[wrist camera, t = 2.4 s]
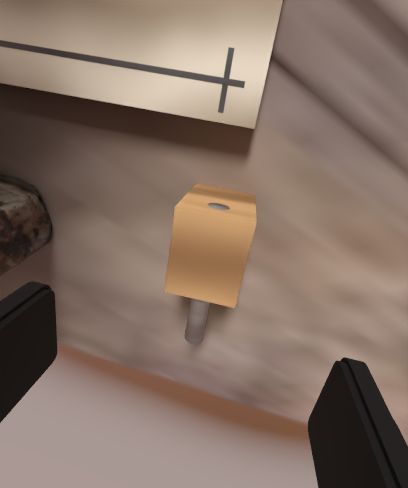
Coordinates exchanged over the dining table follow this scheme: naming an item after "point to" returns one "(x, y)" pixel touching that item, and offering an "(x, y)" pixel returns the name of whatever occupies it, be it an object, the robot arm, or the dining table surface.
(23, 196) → the stone block
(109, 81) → the birch board
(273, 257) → the dining table surface
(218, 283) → the marking gauge
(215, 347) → the dining table surface
